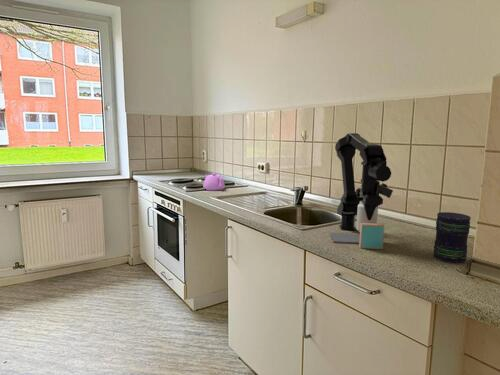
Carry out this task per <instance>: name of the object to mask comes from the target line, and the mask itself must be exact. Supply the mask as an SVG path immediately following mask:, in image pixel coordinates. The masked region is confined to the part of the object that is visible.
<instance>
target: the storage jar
mask: <svg viewBox="0 0 500 375" xmlns="http://www.w3.org/2000/svg"><path fill="white" fill-rule="evenodd" d="M436 214H437V215H436V216H437V217H436V221H435V230H436V231H435V232H436V234H435V240H434V244H433V255H432V256H433V258H434V259H435V260H437V261H439V262H442V263H448V264H452V265H453V264H455V265H460V264H465V263H466V260H467V255H468V236H469V233H470V228H471V216H470V215H466V214H463V213H458V212H450V211H449V212H448V211H445V212H444V211H443V212H442V211H441V212H437V213H436Z"/></svg>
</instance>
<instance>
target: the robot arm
mask: <svg viewBox="0 0 500 375" xmlns="http://www.w3.org/2000/svg"><path fill="white" fill-rule="evenodd" d="M334 149H335V151H336V155H337V156H336V157H337V158H338V159H339V160H340V163H341V173H342V174H341V176H342V187H343V194H342V196H341V197H340V203H339V205H338V206H337V208H336V211H337V212H336V213H337V215H339V216H341V217H340V219H341V220H340V224H339V225H338V227H339V228H340V230H345V231H348V230H349V231H356V230H357V229H356V226H355V223H356V222H355V220H356V219H355V218H356V216H357V209H358V204H360V201H364V202H363V205H364V209H365V212H366V216H367V219H368V220H371V219H372V216H373V213H374V211H375V208H376V207H377V206H378V207H379V206H381V205H384V198H383V197H382V196H384V197H386V198H388V199H390V198H391V196H392V194H393V192H394V190H393V189H392V188H389V187H388V185H387V184H386V183H384V182H386V181H388V180H389V179H390V178H391V177H392V170H391V168H390V167H389V166H388V165H387V164H388V163H387V157H386V155H385V152H384V149H383V147H382V145H381V144H378V143H373V142H369V141H368V140H367V139H365V138H364V137H362V135H360V134H359V133H356V132H355V133H351V132H350V133H347V134H345V136H343V137H342V138H339V139H338V140H337V142H336V143H335V146H334ZM356 150H358V152H359V156H360V157H361V159H362V161H361V162H360V164H361V165H362V171H361V172H362V174H361V178H360V183H361V187H358V188H356V185H355V175H354V174H355V173H354V164H353V159H354V157H355V155H356V152H357V151H356ZM380 182H382V183H380ZM381 195H382V196H381Z"/></svg>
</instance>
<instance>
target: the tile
mask: <svg viewBox="0 0 500 375" xmlns="http://www.w3.org/2000/svg"><path fill="white" fill-rule="evenodd" d="M359 234H360V240H359V244H358V247H359V248H360V249H368V250H369V249H371V250H372V249H373V250H383V249H384V235H385V224H384V223H377V224H376V223H361V224H360V232H359Z"/></svg>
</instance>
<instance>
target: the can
mask: <svg viewBox="0 0 500 375" xmlns="http://www.w3.org/2000/svg"><path fill="white" fill-rule="evenodd" d="M363 202H364V201H360V204H358V209H357V215H356V226H355V228H356V230H357V232H359V233H360V224H361V223H376V224H378V215H379V206H377V207H376V208H375V211H374V213H373V216H372V219H371V220H368V219H367V216H366V212H365V209H364V205H363Z"/></svg>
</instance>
